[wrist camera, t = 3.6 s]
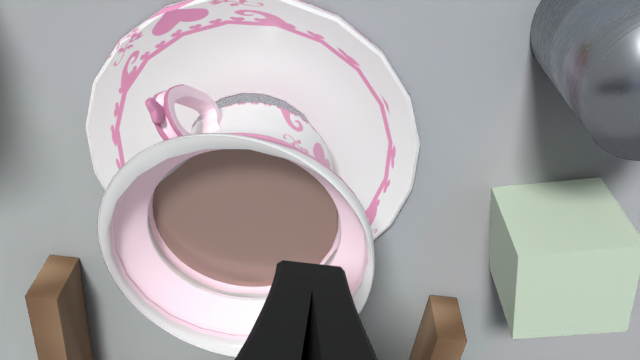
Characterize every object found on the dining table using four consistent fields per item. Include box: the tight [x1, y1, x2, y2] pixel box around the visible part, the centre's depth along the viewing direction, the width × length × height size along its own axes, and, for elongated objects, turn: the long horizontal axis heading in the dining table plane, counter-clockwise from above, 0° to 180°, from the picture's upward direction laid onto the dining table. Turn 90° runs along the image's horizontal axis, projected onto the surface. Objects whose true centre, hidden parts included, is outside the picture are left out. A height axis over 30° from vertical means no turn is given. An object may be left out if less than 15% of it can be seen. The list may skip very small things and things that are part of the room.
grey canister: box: [530, 0, 640, 161], centre depth 17 cm, size 4×4×5 cm
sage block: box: [489, 177, 640, 339], centre depth 22 cm, size 4×4×4 cm
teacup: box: [85, 0, 420, 357], centre depth 19 cm, size 12×12×6 cm
